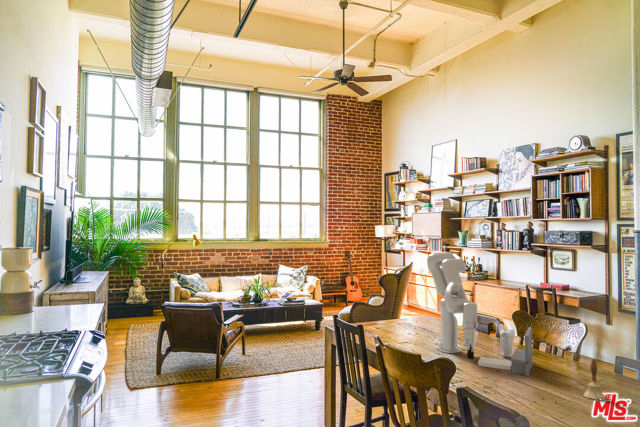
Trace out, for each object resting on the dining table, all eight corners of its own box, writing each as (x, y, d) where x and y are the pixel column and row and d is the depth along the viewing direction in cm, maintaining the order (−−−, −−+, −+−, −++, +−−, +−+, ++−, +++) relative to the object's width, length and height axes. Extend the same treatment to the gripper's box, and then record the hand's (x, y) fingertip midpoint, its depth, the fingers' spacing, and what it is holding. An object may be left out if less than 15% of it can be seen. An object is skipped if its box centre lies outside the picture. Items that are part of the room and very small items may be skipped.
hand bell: (579, 393, 189) (578, 357, 189) (596, 393, 190) (595, 356, 190) (592, 401, 181) (591, 363, 181) (610, 400, 181) (610, 362, 182)
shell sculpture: (516, 359, 239) (515, 326, 240) (500, 358, 241) (500, 326, 241) (512, 354, 247) (512, 323, 248) (497, 353, 249) (497, 322, 249)
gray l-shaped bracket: (511, 373, 215) (510, 333, 215) (516, 362, 233) (515, 325, 233) (528, 376, 210) (528, 335, 211) (532, 364, 228) (531, 327, 229)
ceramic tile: (478, 366, 228) (478, 361, 228) (480, 361, 236) (480, 356, 236) (510, 371, 220) (510, 366, 220) (512, 365, 229) (512, 361, 229)
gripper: (466, 321, 244) (466, 354, 243) (459, 326, 231) (460, 361, 230) (479, 323, 240) (480, 356, 239) (474, 328, 227) (474, 363, 226)
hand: (470, 358), depth 235 cm, fingers closed
